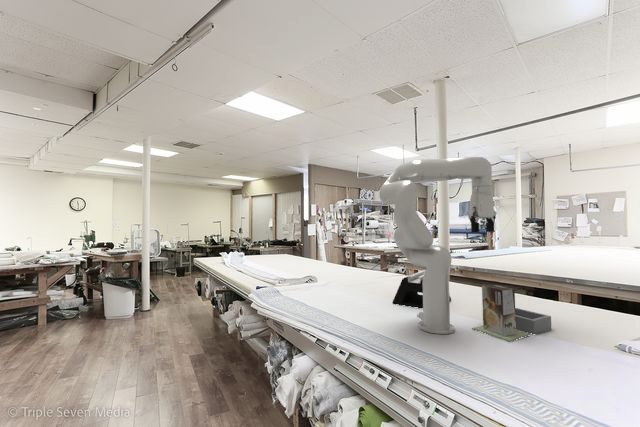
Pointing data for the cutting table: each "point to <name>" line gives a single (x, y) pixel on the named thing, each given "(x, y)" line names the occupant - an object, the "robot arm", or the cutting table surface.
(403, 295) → the device stand
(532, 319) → the grey open frame
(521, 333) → the mat
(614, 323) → the cutting table surface
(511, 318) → the coffee box
